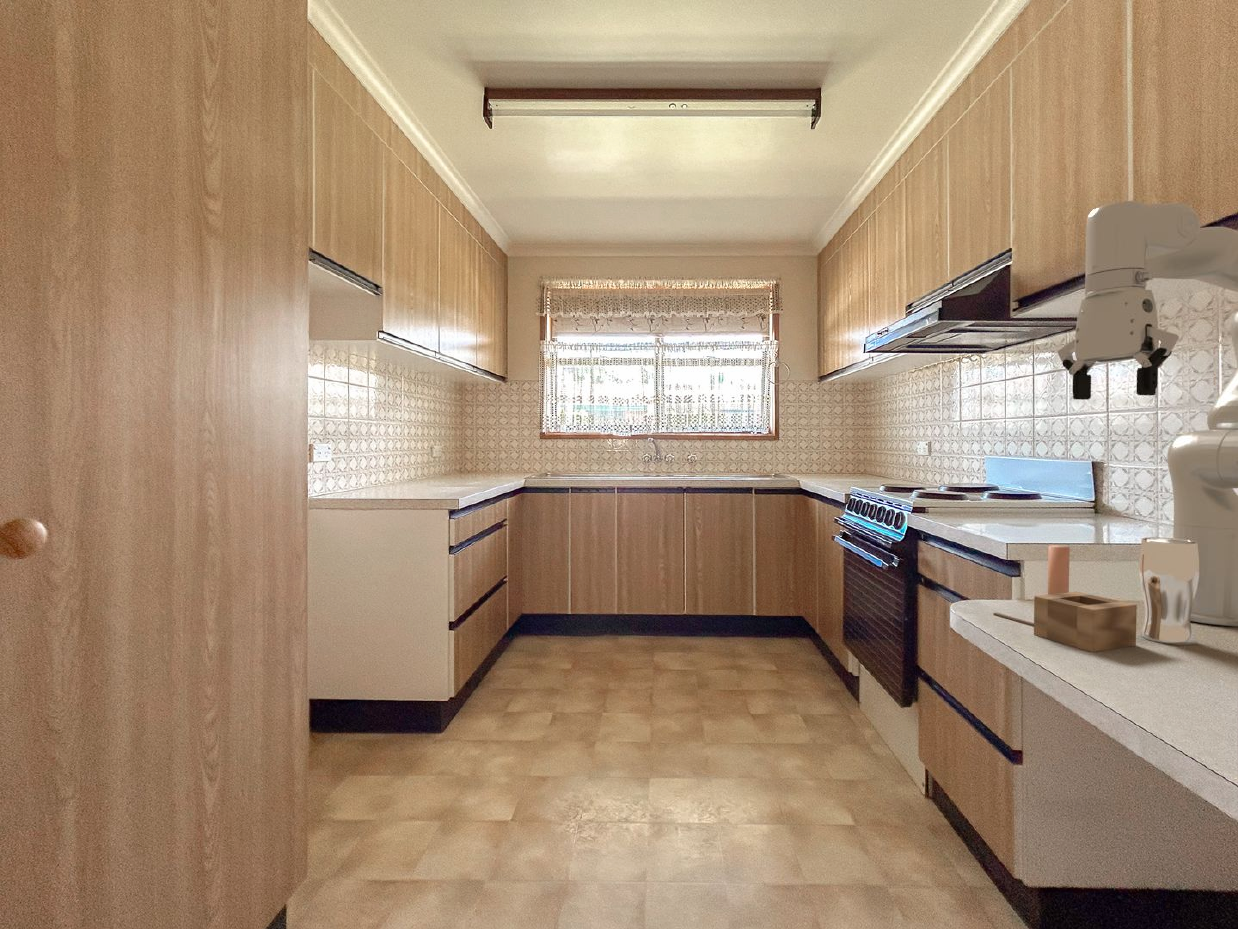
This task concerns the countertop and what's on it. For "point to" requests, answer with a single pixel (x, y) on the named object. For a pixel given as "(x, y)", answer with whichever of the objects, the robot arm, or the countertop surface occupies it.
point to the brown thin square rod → (1014, 619)
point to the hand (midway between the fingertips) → (1112, 397)
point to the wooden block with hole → (1085, 621)
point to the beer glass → (1168, 588)
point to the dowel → (1058, 569)
